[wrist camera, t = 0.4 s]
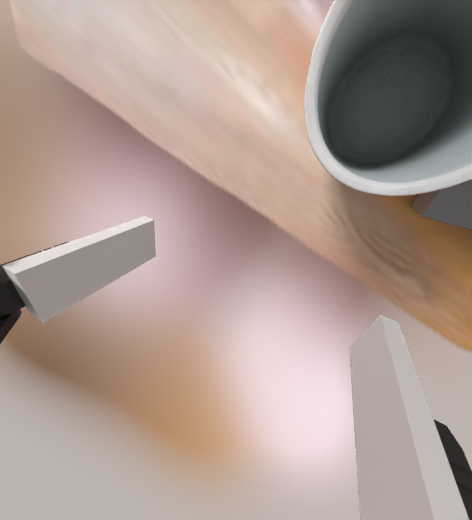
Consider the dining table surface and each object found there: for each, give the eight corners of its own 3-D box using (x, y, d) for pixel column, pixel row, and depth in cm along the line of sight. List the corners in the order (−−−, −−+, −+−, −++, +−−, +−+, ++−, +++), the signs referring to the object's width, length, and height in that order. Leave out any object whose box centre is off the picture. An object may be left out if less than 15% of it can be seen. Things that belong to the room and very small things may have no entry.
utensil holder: (475, 134, 23) (687, 111, 9) (338, 191, 31) (339, 225, 17) (452, -18, 19) (751, -448, 5) (304, 92, 28) (270, 35, 14)
